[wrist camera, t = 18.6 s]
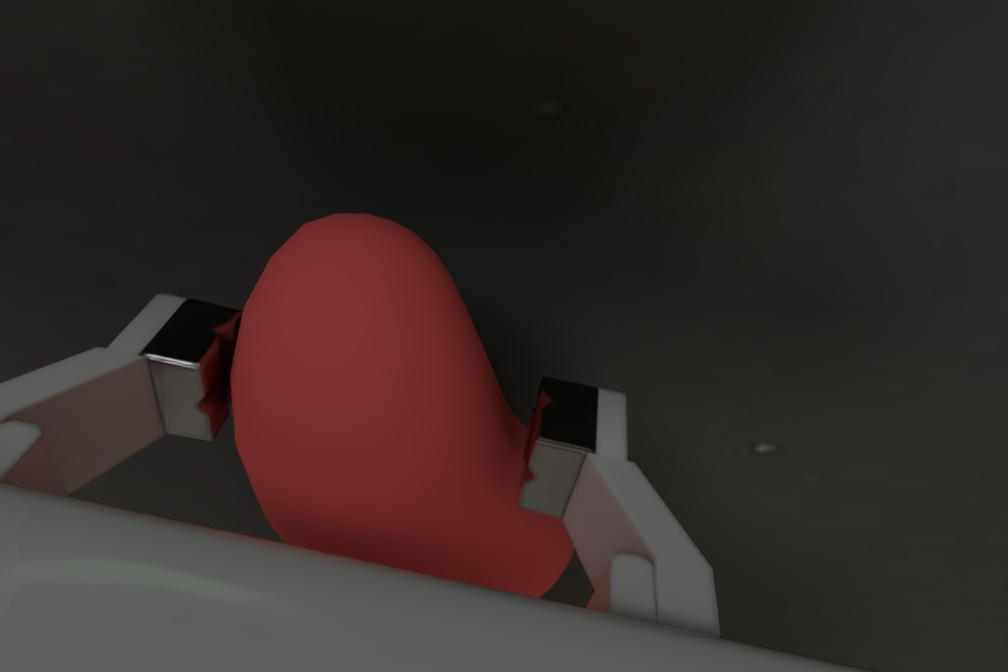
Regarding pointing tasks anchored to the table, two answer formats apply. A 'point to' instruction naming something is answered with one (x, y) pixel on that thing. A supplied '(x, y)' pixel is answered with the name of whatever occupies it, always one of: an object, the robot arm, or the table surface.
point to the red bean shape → (383, 413)
